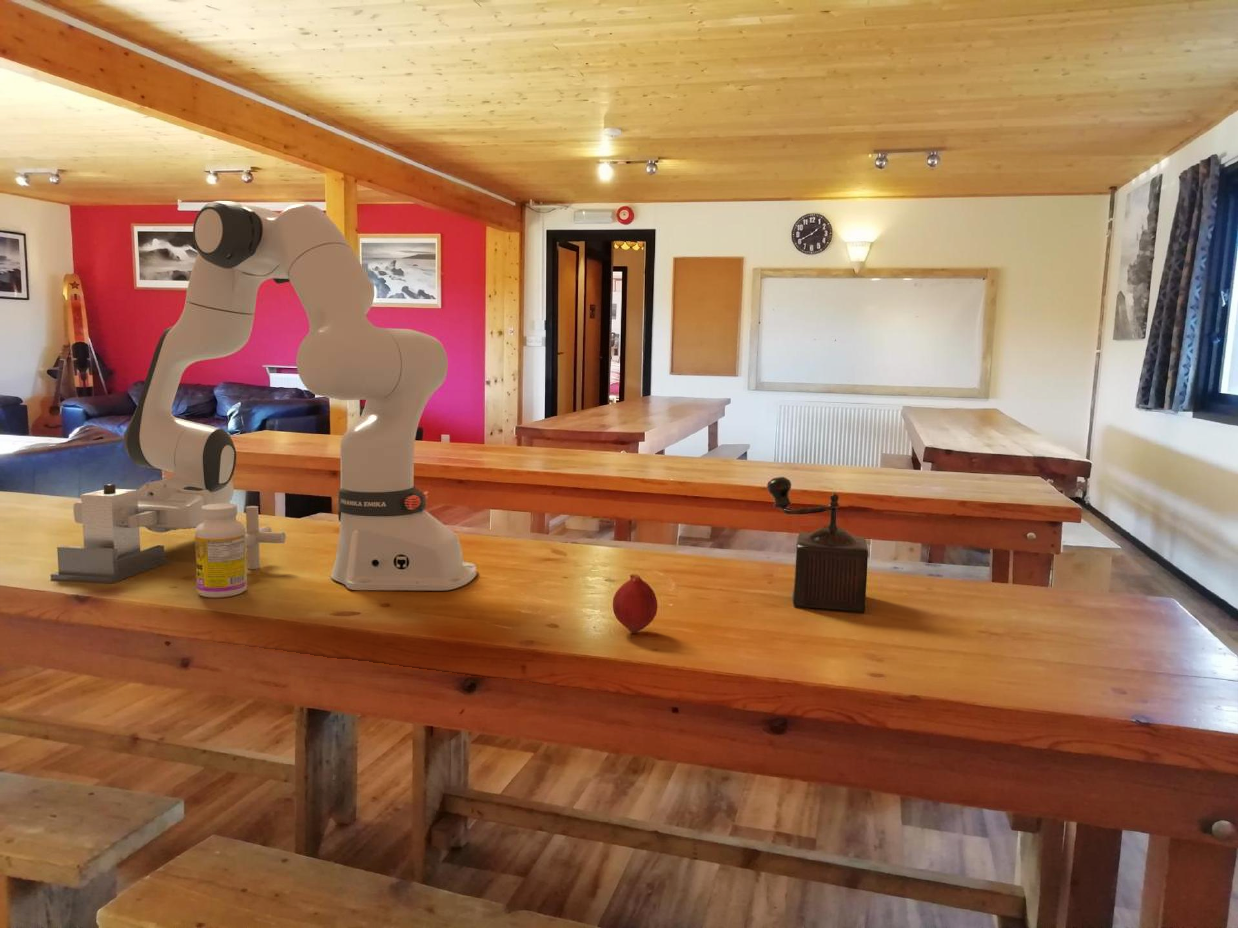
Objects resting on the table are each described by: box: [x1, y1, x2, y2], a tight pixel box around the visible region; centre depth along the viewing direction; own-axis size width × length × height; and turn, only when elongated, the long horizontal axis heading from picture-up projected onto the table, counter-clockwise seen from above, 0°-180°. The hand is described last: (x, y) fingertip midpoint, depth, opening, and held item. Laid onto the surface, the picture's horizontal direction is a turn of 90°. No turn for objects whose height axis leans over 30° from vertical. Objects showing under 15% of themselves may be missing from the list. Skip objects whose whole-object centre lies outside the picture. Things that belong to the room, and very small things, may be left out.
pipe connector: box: [245, 505, 287, 570], centre depth 140 cm, size 10×10×10 cm
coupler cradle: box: [50, 544, 168, 584], centre depth 136 cm, size 10×13×5 cm
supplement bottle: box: [194, 502, 248, 599], centre depth 125 cm, size 7×7×13 cm
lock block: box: [80, 483, 141, 559], centre depth 136 cm, size 5×6×11 cm
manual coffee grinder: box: [766, 476, 869, 614], centre depth 130 cm, size 16×11×18 cm
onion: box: [612, 573, 659, 634], centre depth 113 cm, size 6×6×8 cm
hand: (107, 521), depth 135 cm, fingers closed on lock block, 5 cm apart
